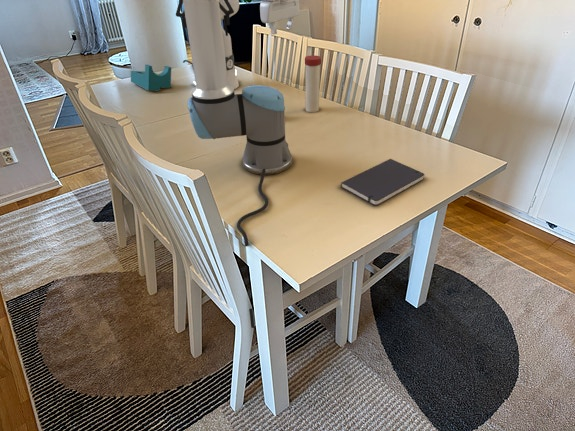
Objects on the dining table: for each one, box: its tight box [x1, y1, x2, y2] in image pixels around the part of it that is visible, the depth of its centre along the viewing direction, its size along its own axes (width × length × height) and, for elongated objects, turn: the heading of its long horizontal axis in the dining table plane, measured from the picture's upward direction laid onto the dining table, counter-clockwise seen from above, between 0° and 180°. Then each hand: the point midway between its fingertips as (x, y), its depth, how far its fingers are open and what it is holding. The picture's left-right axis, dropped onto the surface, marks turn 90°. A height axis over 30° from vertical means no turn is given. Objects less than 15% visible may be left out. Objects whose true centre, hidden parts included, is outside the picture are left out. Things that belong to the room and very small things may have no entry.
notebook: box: [340, 158, 425, 206], centre depth 114 cm, size 13×2×21 cm
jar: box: [304, 64, 321, 113], centre depth 156 cm, size 5×5×20 cm
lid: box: [304, 54, 322, 66], centre depth 151 cm, size 6×6×2 cm
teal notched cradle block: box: [130, 64, 172, 92], centre depth 188 cm, size 18×11×10 cm, turn 43°
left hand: (281, 31), depth 161 cm, fingers open, 8 cm apart
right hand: (208, 36), depth 147 cm, fingers open, 13 cm apart
